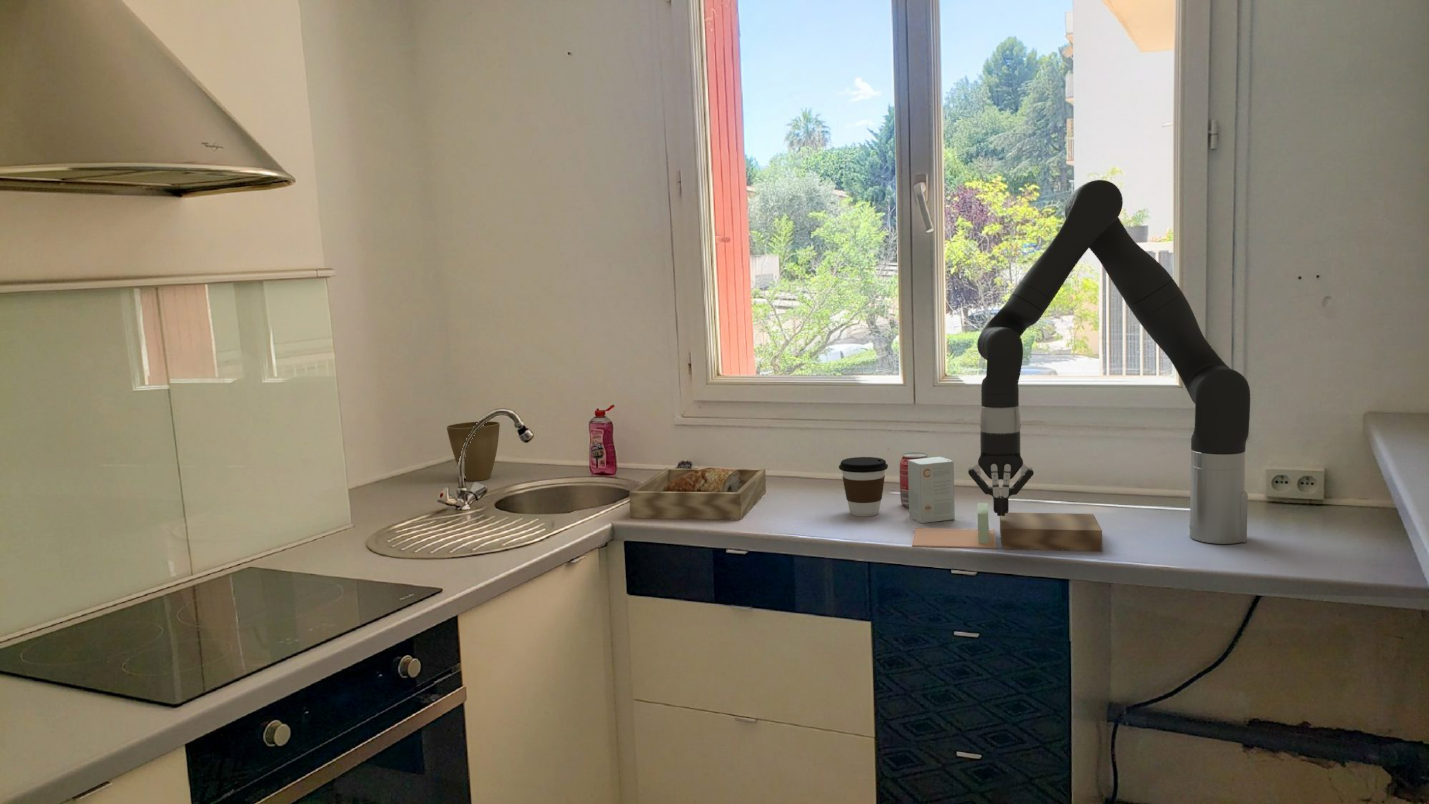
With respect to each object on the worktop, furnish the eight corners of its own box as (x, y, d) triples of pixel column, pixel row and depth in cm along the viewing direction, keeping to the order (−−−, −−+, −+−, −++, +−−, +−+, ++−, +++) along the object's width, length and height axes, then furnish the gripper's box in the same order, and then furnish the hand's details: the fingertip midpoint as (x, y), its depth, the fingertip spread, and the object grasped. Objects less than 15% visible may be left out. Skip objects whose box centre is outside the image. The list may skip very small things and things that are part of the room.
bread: (715, 519, 221) (713, 476, 220) (646, 514, 229) (644, 472, 228) (752, 500, 239) (750, 460, 238) (687, 496, 247) (685, 457, 246)
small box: (941, 513, 217) (940, 456, 215) (955, 519, 211) (954, 460, 209) (908, 517, 215) (906, 459, 213) (921, 523, 209) (920, 464, 207)
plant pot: (511, 478, 280) (507, 423, 278) (460, 486, 272) (455, 429, 270) (493, 471, 292) (489, 418, 290) (444, 478, 284) (440, 424, 282)
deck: (1093, 533, 195) (1093, 513, 194) (1102, 551, 182) (1102, 530, 182) (999, 531, 199) (999, 512, 199) (1002, 548, 187) (1001, 528, 187)
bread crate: (766, 492, 246) (765, 468, 246) (741, 519, 219) (740, 493, 218) (666, 491, 253) (665, 468, 252) (630, 517, 226) (629, 492, 225)
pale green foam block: (987, 503, 198) (977, 503, 198) (988, 513, 189) (977, 513, 190) (988, 531, 198) (978, 531, 199) (988, 543, 190) (978, 543, 190)
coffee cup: (887, 506, 225) (885, 455, 224) (890, 518, 214) (889, 464, 213) (839, 507, 226) (838, 457, 225) (841, 519, 215) (839, 466, 214)
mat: (994, 531, 200) (994, 529, 200) (996, 548, 187) (996, 547, 187) (915, 529, 204) (915, 528, 204) (912, 546, 191) (912, 545, 191)
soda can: (935, 503, 226) (934, 452, 225) (925, 510, 220) (924, 458, 219) (906, 501, 230) (905, 451, 229) (895, 507, 224) (894, 456, 222)
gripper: (1034, 425, 192) (1034, 511, 195) (965, 426, 196) (966, 510, 198) (1037, 431, 185) (1037, 520, 187) (965, 431, 189) (966, 519, 191)
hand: (1000, 515), depth 193 cm, fingers closed
